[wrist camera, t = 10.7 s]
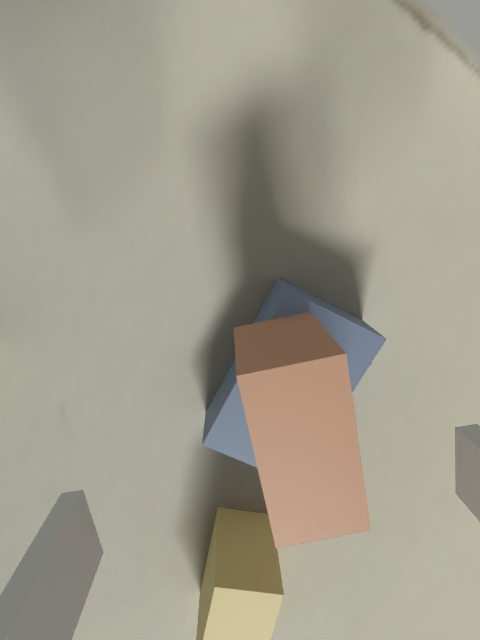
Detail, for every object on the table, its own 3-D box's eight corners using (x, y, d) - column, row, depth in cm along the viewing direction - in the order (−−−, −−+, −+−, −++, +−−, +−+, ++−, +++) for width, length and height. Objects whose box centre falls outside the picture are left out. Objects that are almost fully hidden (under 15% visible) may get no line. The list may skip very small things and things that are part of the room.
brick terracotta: (331, 444, 21) (370, 530, 15) (262, 457, 21) (275, 548, 15) (309, 311, 19) (346, 353, 13) (233, 327, 19) (236, 376, 13)
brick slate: (284, 442, 26) (294, 482, 22) (206, 409, 25) (202, 444, 21) (360, 318, 23) (386, 339, 19) (276, 276, 22) (286, 289, 18)
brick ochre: (250, 595, 29) (255, 690, 23) (200, 590, 29) (192, 684, 23) (272, 513, 27) (283, 595, 21) (217, 506, 27) (214, 587, 21)
